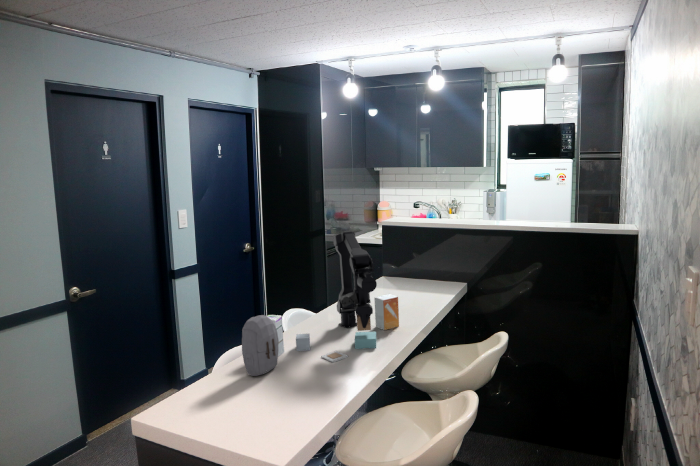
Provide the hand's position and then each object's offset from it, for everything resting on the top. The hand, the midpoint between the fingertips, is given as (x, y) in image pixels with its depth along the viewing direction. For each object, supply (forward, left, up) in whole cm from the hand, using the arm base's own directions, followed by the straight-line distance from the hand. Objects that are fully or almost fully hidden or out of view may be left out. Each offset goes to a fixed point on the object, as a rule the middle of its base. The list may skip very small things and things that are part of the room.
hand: (363, 325), depth 196 cm
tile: (+2, -16, -7) cm, 18 cm away
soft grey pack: (-5, -41, -8) cm, 42 cm away
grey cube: (-14, -19, -8) cm, 25 cm away
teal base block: (+1, 0, -8) cm, 8 cm away
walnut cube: (0, 0, -1) cm, 1 cm away
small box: (-9, +20, -8) cm, 23 cm away
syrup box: (-17, -30, -8) cm, 35 cm away
